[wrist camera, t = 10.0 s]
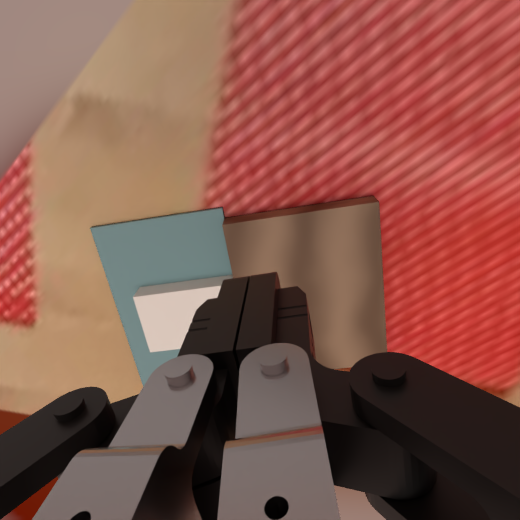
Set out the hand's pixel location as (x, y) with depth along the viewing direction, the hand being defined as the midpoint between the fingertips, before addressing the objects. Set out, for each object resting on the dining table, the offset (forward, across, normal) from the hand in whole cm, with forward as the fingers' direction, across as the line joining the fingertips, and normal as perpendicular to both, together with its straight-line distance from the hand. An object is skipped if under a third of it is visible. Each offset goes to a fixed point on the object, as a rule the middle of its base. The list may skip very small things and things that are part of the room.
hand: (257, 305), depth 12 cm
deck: (+25, -1, +12) cm, 28 cm away
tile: (+24, +11, +12) cm, 29 cm away
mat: (+24, +12, +12) cm, 30 cm away
